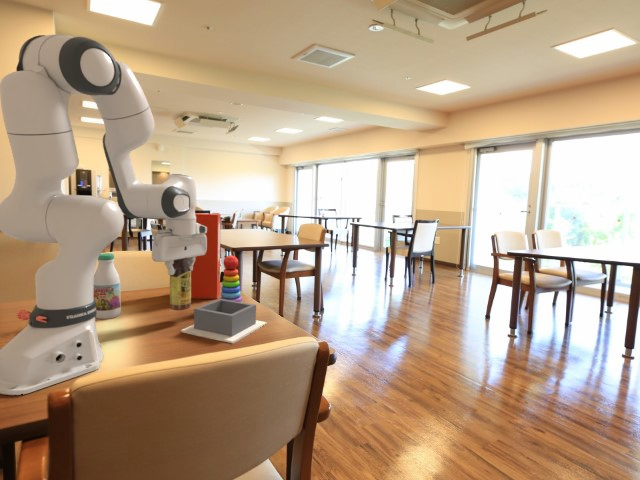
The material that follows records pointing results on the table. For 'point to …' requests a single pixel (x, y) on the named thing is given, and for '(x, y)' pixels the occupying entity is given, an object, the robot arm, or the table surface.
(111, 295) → the milk bottle
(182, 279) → the sauce bottle
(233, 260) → the stacking toy
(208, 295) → the tall red box
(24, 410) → the table surface
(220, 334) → the mount collar
